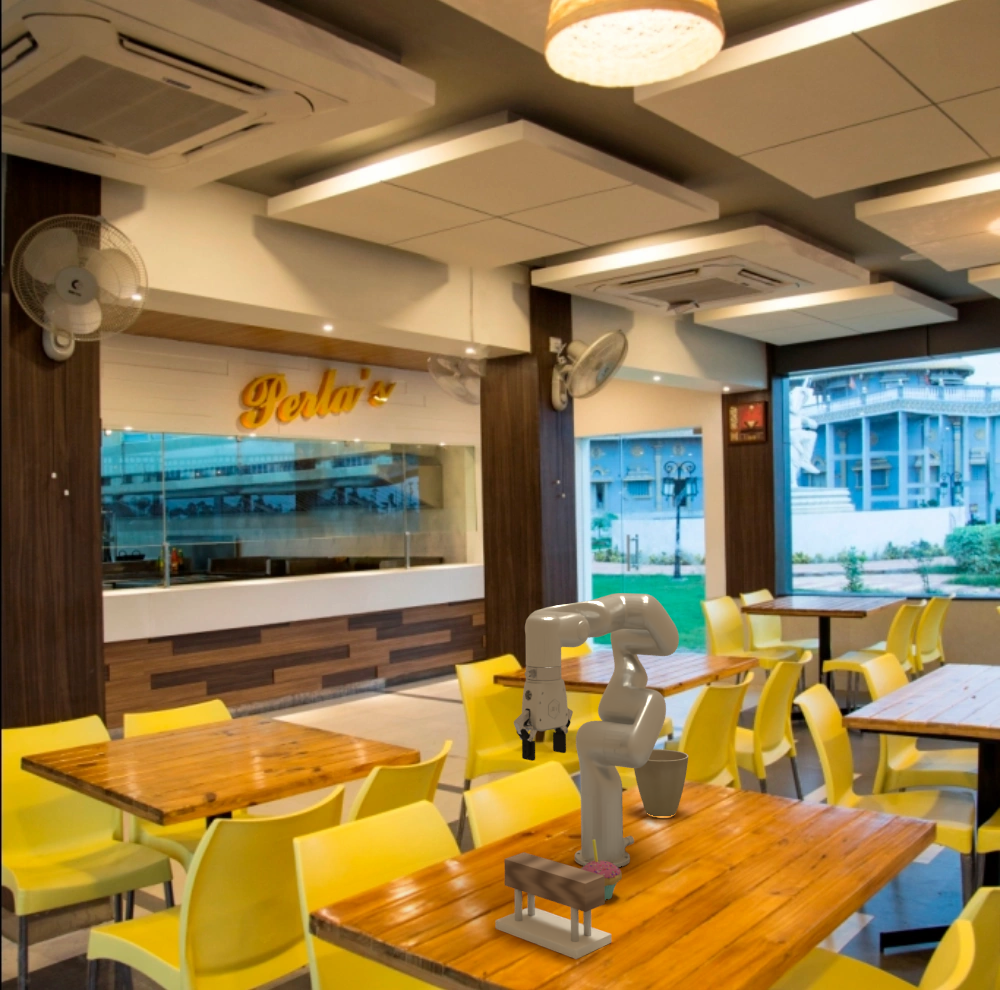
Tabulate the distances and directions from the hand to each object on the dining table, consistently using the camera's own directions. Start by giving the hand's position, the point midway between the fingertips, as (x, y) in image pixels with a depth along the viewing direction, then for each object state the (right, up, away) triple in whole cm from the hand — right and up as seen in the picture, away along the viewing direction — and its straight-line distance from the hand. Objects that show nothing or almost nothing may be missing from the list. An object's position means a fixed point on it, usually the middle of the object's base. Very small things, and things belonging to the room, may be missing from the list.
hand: (544, 755), depth 210 cm
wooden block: (+1, -20, -23) cm, 31 cm away
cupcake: (+12, -28, -4) cm, 31 cm away
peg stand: (0, -27, -24) cm, 36 cm away
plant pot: (+34, -31, +56) cm, 72 cm away
